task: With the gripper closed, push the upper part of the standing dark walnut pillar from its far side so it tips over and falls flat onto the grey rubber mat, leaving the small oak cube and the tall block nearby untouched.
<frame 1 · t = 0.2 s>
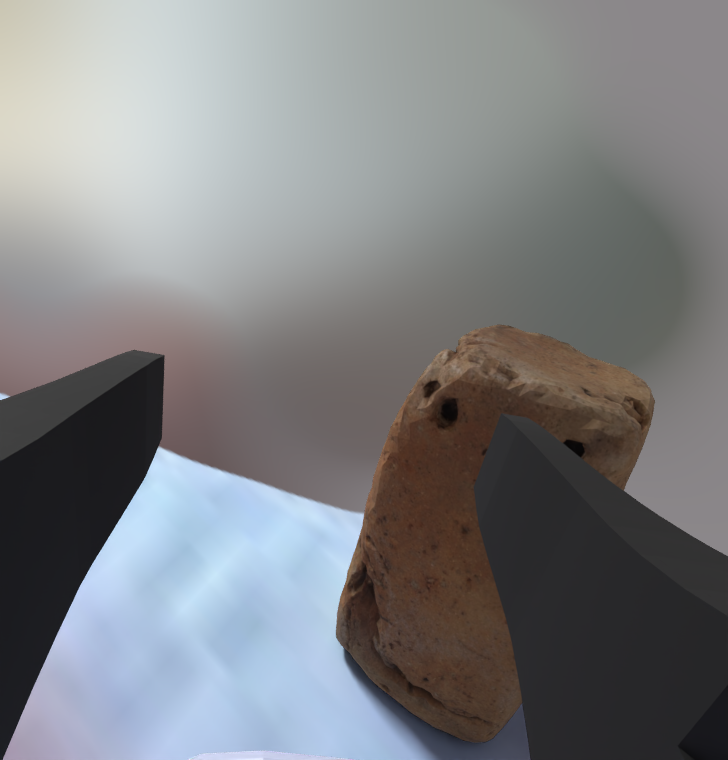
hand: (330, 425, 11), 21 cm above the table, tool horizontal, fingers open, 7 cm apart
block: (417, 664, 31), on the table
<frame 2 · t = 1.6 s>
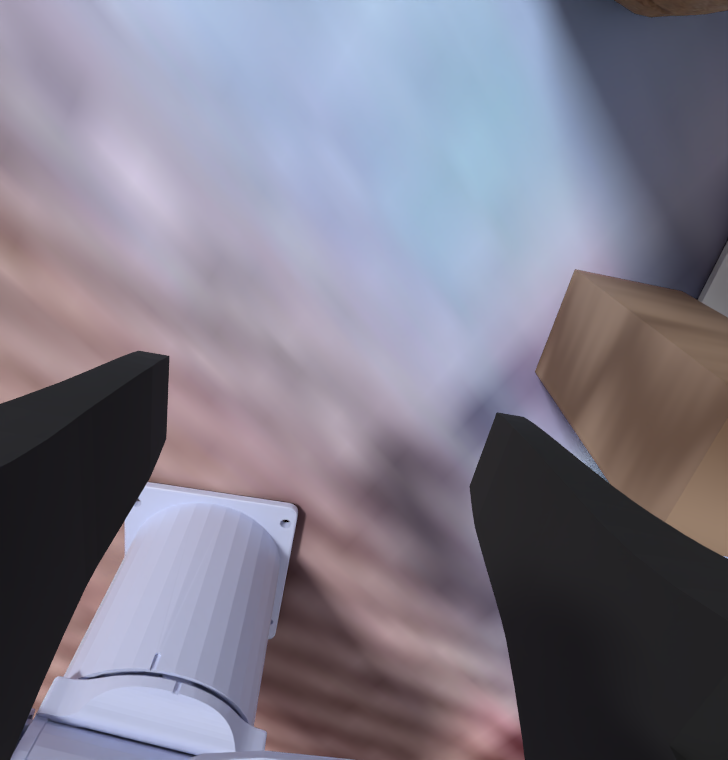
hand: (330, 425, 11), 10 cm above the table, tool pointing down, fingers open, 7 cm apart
walnut pillar: (605, 332, 22), on the table
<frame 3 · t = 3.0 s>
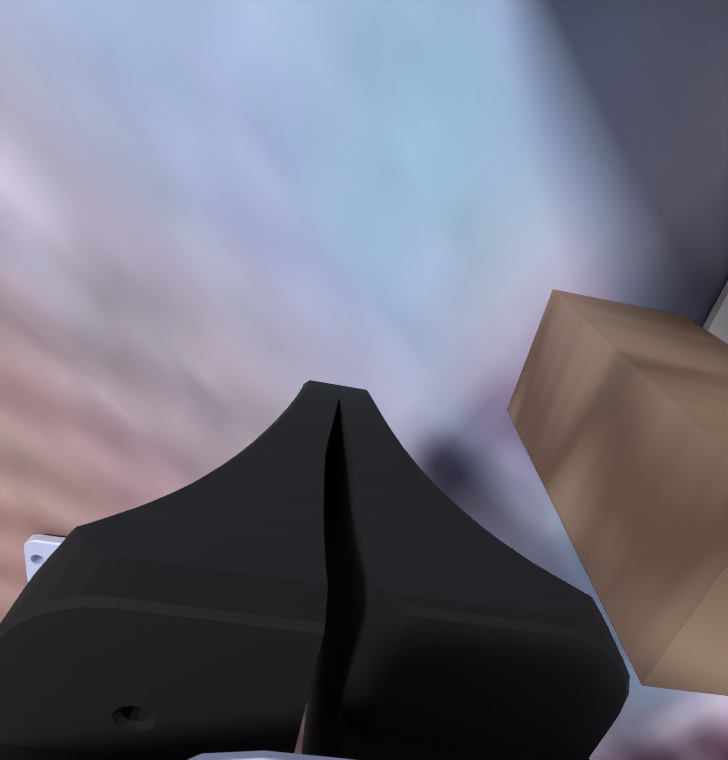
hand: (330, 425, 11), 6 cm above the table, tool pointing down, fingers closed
walnut pillar: (591, 365, 18), on the table
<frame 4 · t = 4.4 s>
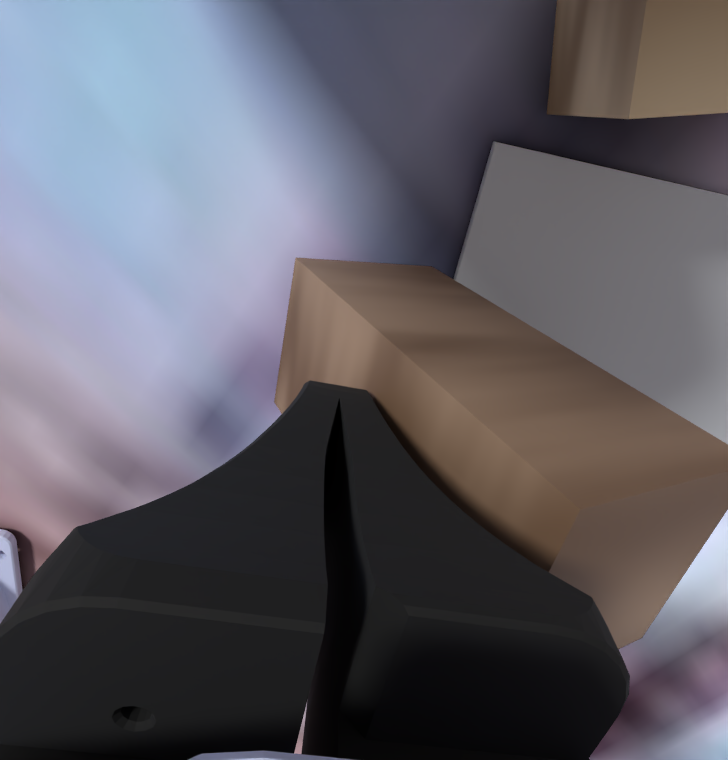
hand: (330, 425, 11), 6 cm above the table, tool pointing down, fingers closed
mat: (607, 369, 18), on the table
walnut pillar: (353, 333, 16), point 1 cm above the table, tilted 27°
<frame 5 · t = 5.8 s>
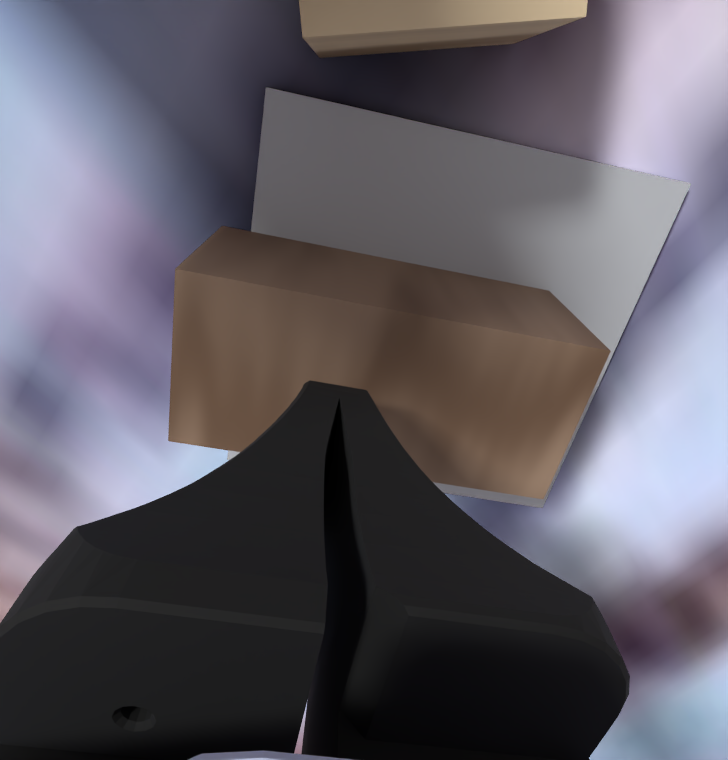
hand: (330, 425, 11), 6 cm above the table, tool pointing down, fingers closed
mat: (429, 334, 17), on the table
walnut pillar: (197, 326, 14), point 3 cm above the table, tilted 90°, touching mat
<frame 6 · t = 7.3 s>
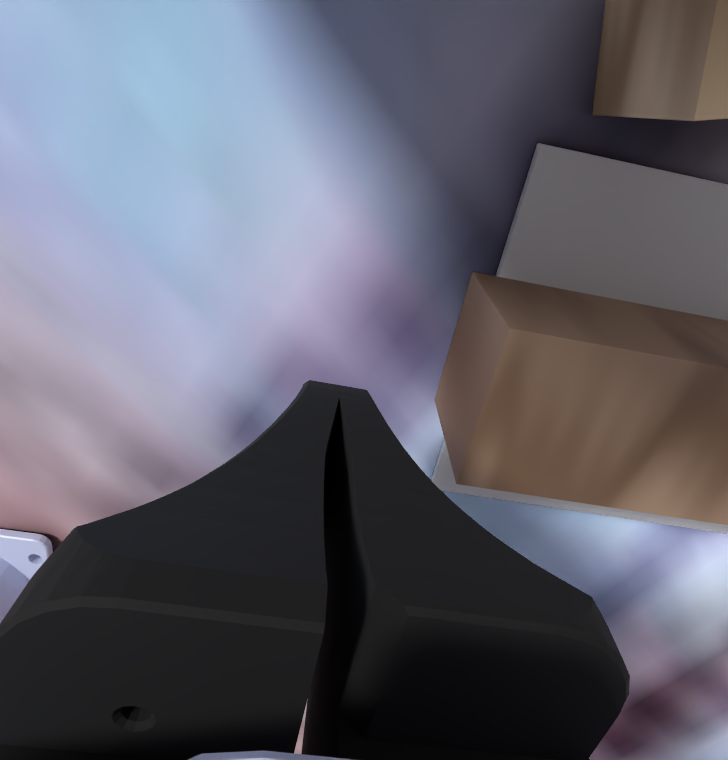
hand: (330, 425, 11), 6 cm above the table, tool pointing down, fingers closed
mat: (646, 370, 18), on the table
walnut pillar: (464, 370, 15), point 3 cm above the table, tilted 90°, touching mat
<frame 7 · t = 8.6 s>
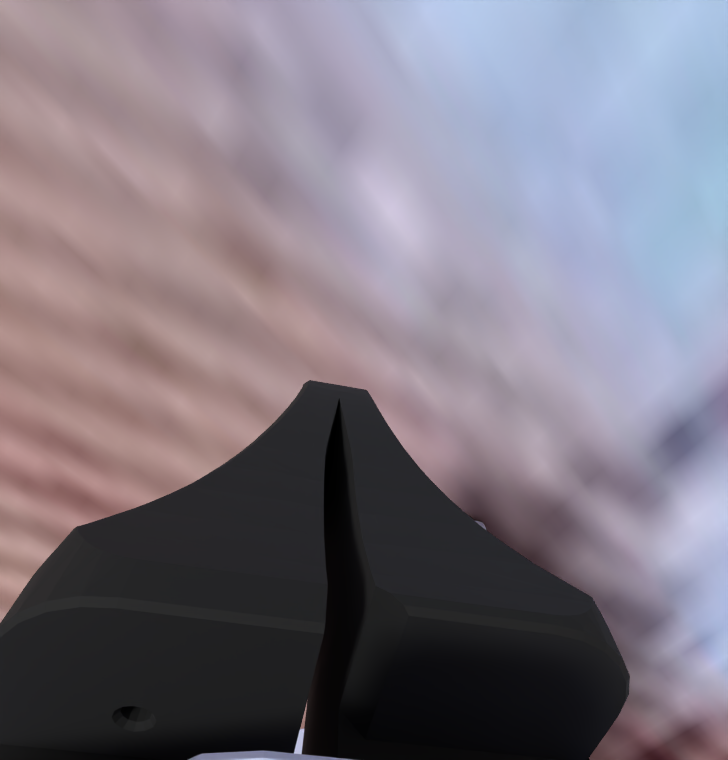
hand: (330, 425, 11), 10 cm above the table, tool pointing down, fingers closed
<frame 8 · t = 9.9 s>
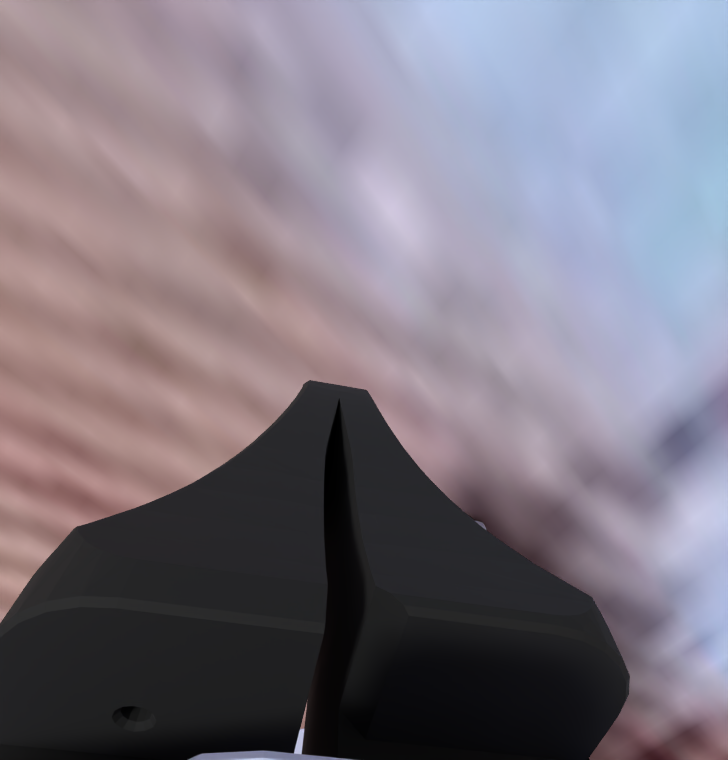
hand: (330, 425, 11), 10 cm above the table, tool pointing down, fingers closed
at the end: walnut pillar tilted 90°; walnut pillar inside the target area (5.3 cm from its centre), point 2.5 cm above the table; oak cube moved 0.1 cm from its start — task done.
